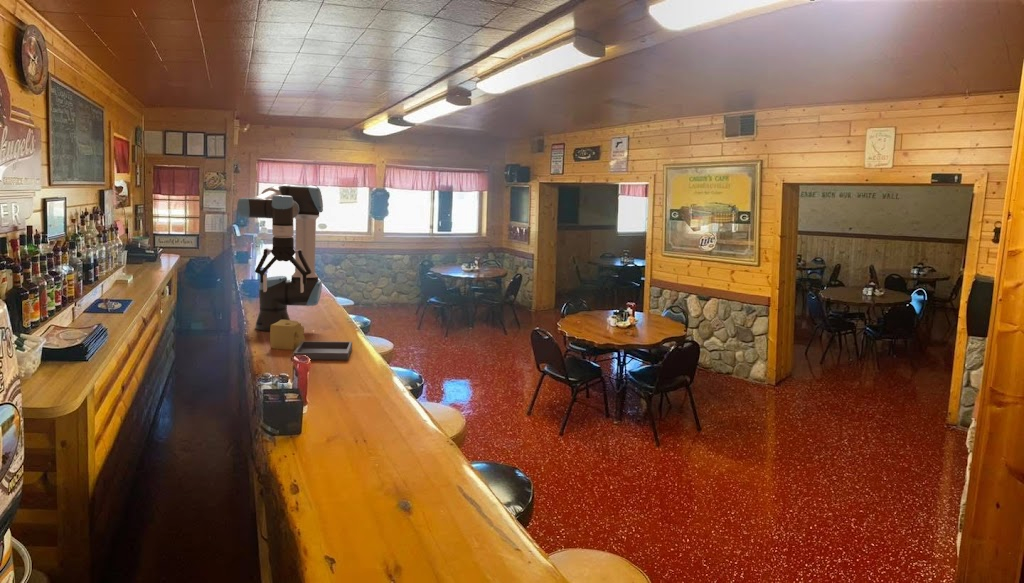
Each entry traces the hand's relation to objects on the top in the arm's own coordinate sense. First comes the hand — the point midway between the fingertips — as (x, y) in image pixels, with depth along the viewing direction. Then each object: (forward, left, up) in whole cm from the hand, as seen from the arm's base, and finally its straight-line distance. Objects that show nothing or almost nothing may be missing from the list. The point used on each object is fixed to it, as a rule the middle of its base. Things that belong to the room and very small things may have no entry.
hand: (283, 291), depth 248 cm
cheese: (-12, -1, -25) cm, 28 cm away
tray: (0, +15, -25) cm, 29 cm away
